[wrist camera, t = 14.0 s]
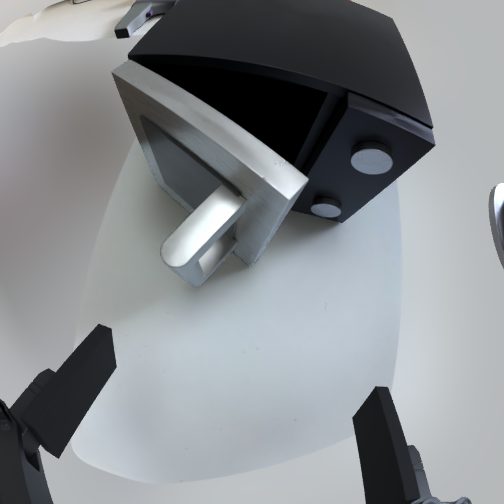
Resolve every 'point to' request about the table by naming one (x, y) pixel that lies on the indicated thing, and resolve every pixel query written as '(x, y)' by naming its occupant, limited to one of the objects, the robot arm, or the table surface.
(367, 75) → the microwave
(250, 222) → the microwave door
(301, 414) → the table surface
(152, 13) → the infrared thermometer
